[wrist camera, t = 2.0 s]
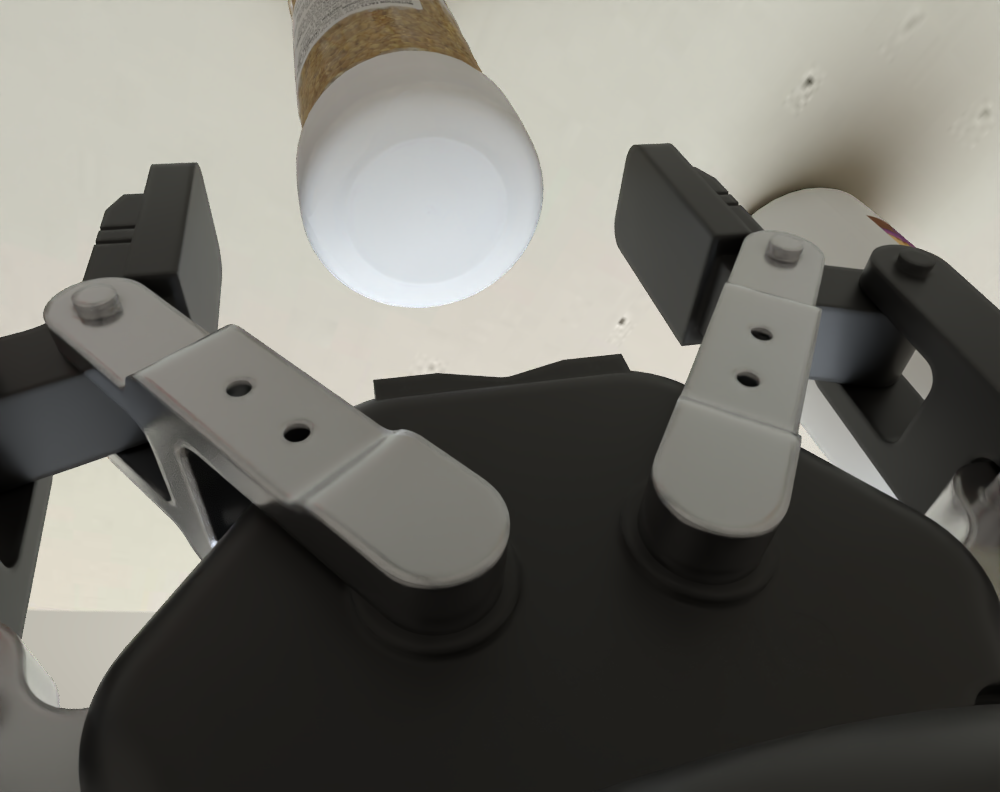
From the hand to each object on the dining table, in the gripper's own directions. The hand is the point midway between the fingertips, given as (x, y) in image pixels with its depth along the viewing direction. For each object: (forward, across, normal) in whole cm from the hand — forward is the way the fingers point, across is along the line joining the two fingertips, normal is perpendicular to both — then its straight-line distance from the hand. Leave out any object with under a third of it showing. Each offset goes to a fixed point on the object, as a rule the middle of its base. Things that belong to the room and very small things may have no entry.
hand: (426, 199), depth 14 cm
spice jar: (+13, 0, 0) cm, 13 cm away
